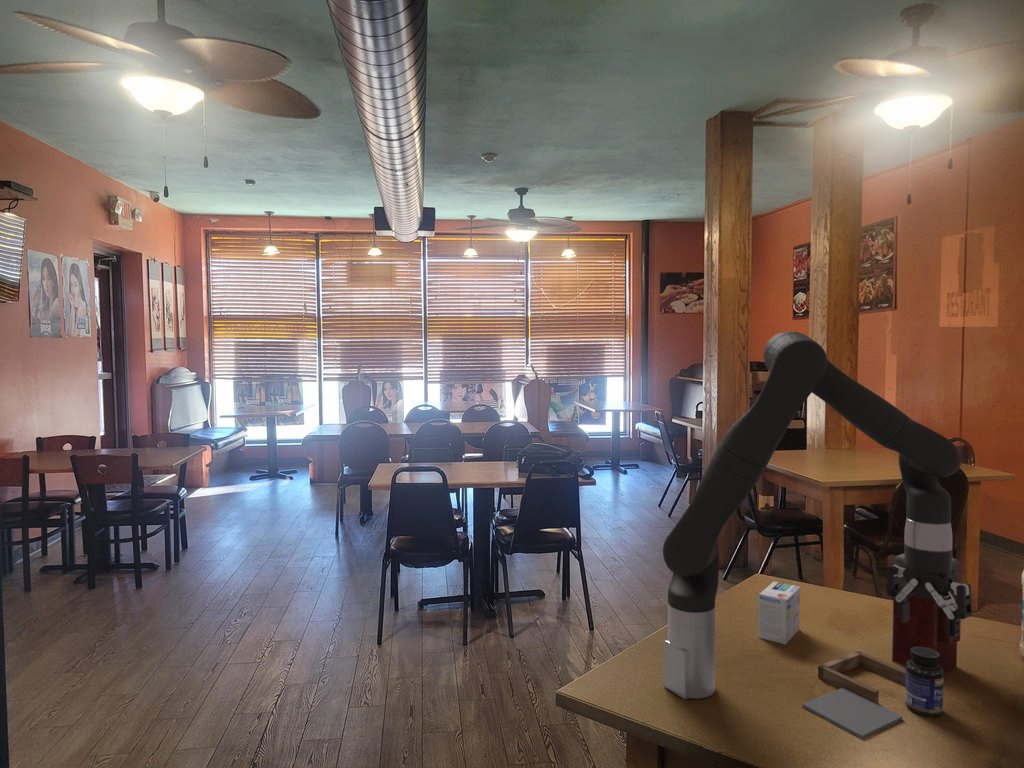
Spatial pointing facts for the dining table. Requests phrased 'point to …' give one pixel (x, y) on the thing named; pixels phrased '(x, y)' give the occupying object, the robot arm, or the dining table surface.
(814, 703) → the rubber mat
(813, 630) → the dining table surface
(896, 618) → the red rectangular canister
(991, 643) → the dining table surface
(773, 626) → the light bulb box
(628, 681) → the dining table surface
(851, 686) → the frame
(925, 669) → the pill bottle
